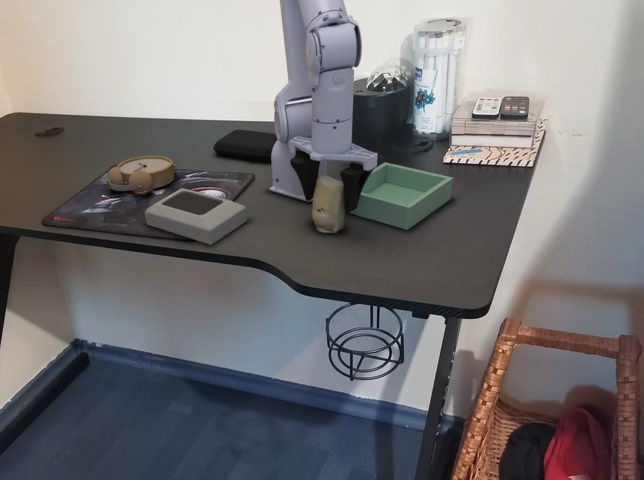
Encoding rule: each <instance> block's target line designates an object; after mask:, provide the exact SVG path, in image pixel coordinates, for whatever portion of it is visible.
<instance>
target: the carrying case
mask: <svg viewBox="0 0 644 480" xmlns="http://www.w3.org/2000/svg"><path fill="white" fill-rule="evenodd" d="M277 140H278V139H277V136H276V133H273V132H265V131H257V130H248V129H234V130H232V131H231V132H229V133H227V134H226V135H224V136H223V137H221V138H220V139H217V141H215V143H214V144H213V151H214V152H215V153H216V154H217V155H219V156H225V157H230V158H235V159H243V160H248V161H249V160H250V161H257V162H265V163H268V162H271V155H272V150H273V147H274V145H275V143H276V142H277Z"/></svg>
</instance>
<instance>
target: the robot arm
mask: <svg viewBox="0 0 644 480" xmlns="http://www.w3.org/2000/svg"><path fill="white" fill-rule="evenodd" d="M279 7H280V16H281V17H280V18H281V23H282V24H281V26H282V37H283V46H284V53H285V61H286V62H285V63H286V71H287V81H288V82H287V83H286V85H284V87H283V88H282V89H281V90H280V91H278V93H277V94H276V96H275V98H274V101H273V109H274V110H273V111H274V114H273V121H274V131H275V134H276V136H277V139H278V140H277V142H276V143H275V145H274V147H273V150H272V155H271V161H270V162H271V183H272V186H270V187H269V191H270V192H273V193H277V194H281V195H283V196H287V197H290V198H293V199H297V200H299V201H304V202H307V203H313V196H314V192H315V187H316V183H317V181H316V180H317V178H318V177H319V176H321V175H327V176H328V161H334V162H338V163H342V164H347V165H349V166H348V167H346V168H344V169H342V170H340V172H339V175H340V178H341V182H343V186H344V194H345V197H344V207H345V213H348V214H351V213H350V212H351V211H353V210H354V209H356V208H357V205H358V201H359V198H360V195H361V192H362V189H363V187H364V185H365V183H366V181H367V179H368V177H369V176H370V174H371V172H372V171H373V169H375V168H376V167H378V155H379V154H378V152H374V151H370V150H367V149H366V148H363V147H362V146H359V145H357V144H355V143H353V142H352V141H353V140H352V139H353V114H354V113H353V112H354V110H353V109H354V88H355V87H354V86H355V84H354V83H355V69H353V68H358V67H359V66H360V64H361V60H362V54H363V41H362V40H363V39H362V38H363V37H362V32H361V29H360V25H359V23H358V22H357V20H354V17H353V15H348V12H347V9H346V4H345V1H344V0H279ZM309 99H310V100H309ZM304 100H305V101H304ZM298 101H299V102H298ZM292 102H293V103H292Z"/></svg>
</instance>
